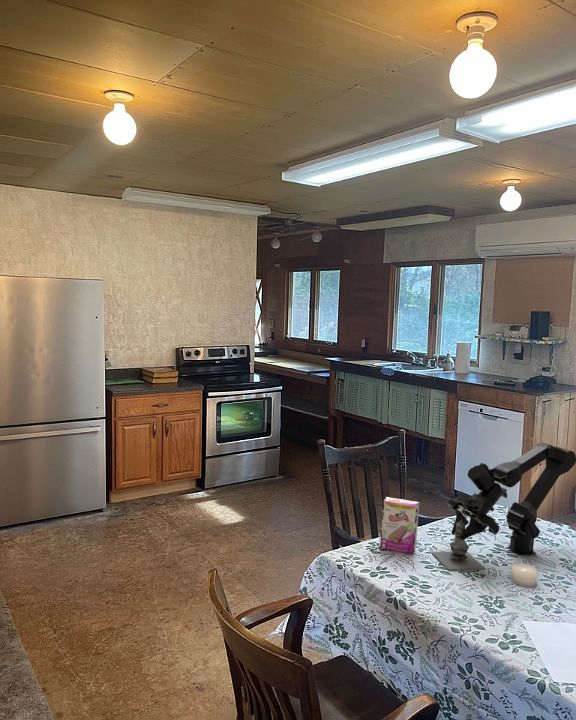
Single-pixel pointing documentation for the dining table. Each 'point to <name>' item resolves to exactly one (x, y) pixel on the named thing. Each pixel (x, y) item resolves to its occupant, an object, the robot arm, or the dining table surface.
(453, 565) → the mat
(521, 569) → the cream rounded squat cylinder
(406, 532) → the candy bar box
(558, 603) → the dining table surface
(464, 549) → the grey chess piece
